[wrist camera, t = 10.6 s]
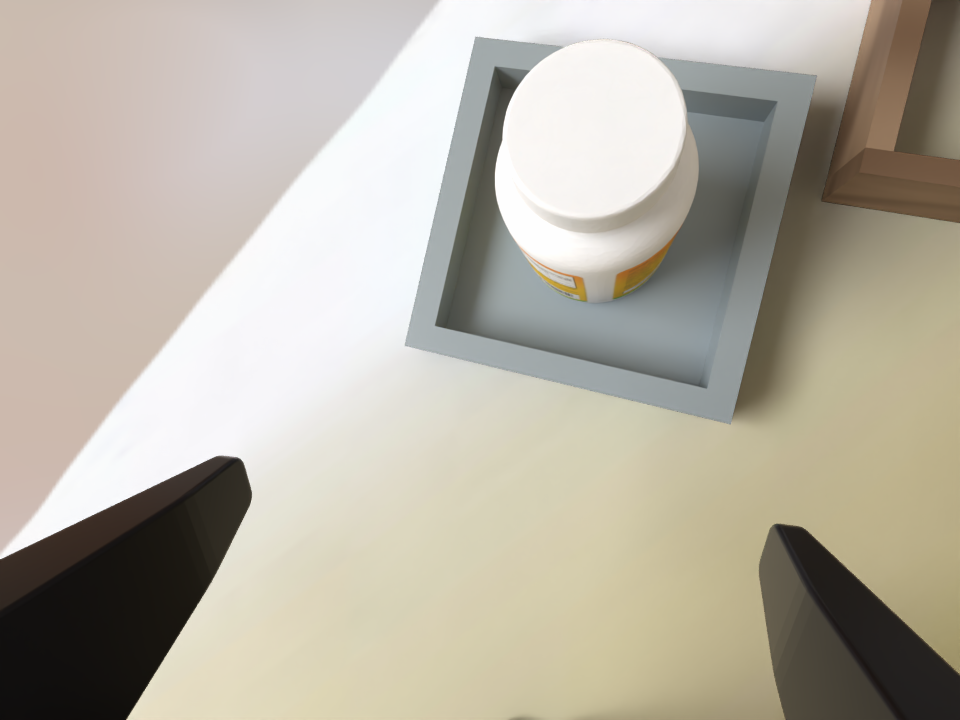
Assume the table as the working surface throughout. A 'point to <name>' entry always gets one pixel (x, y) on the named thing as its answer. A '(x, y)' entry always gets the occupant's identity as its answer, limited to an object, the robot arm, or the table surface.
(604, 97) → the supplement bottle
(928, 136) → the table surface
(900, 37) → the brown wooden open box
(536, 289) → the parts tray
